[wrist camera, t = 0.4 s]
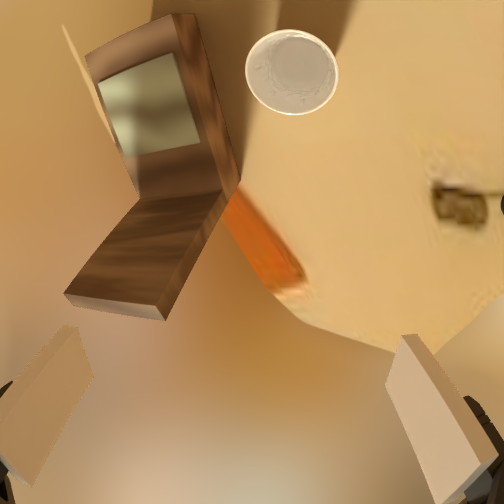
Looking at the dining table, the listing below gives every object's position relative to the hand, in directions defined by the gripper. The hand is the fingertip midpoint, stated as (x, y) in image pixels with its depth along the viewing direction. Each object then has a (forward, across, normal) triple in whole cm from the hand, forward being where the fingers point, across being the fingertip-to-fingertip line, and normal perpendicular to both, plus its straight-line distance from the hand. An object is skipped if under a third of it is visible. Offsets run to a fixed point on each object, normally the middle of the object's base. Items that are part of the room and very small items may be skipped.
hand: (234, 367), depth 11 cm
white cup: (+25, +6, +19) cm, 32 cm away
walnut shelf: (+31, -10, +14) cm, 36 cm away
